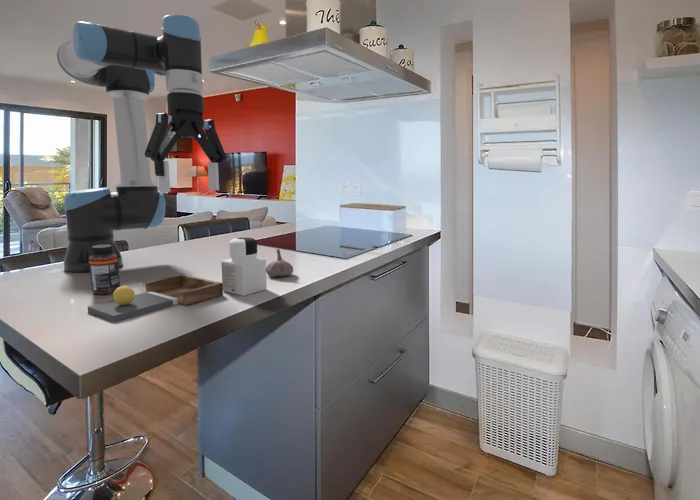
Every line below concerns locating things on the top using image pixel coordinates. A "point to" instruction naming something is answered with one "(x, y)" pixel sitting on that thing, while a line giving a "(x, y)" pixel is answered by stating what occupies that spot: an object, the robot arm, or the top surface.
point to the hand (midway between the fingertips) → (190, 191)
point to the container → (243, 268)
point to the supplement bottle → (104, 270)
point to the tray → (186, 288)
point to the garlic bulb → (279, 267)
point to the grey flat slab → (132, 306)
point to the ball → (123, 295)
